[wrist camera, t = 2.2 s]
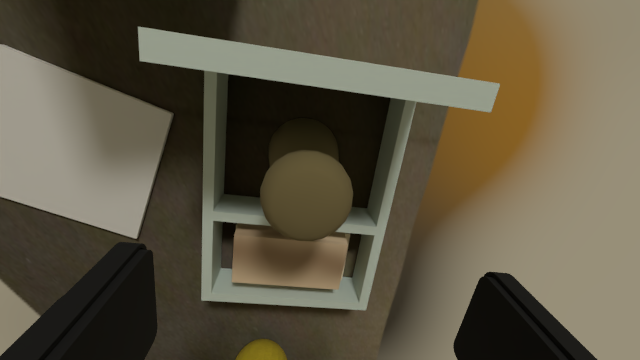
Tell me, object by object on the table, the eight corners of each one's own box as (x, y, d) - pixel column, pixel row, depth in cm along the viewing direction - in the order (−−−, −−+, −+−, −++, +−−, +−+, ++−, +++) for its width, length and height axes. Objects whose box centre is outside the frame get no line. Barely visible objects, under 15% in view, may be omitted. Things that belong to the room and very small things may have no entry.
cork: (262, 178, 26) (239, 249, 16) (275, 110, 24) (258, 138, 14) (329, 192, 27) (348, 267, 17) (346, 126, 25) (381, 165, 15)
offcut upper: (335, 274, 28) (338, 289, 26) (236, 267, 27) (231, 282, 25) (344, 232, 27) (347, 245, 25) (238, 222, 25) (234, 234, 24)
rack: (358, 284, 31) (394, 408, 19) (212, 274, 29) (158, 403, 18) (404, 77, 24) (500, 84, 13) (218, 49, 22) (137, 26, 11)
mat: (138, 236, 27) (136, 238, 27) (-12, 189, 25) (-17, 191, 24) (174, 113, 24) (172, 114, 23) (3, 44, 21) (-2, 44, 21)
